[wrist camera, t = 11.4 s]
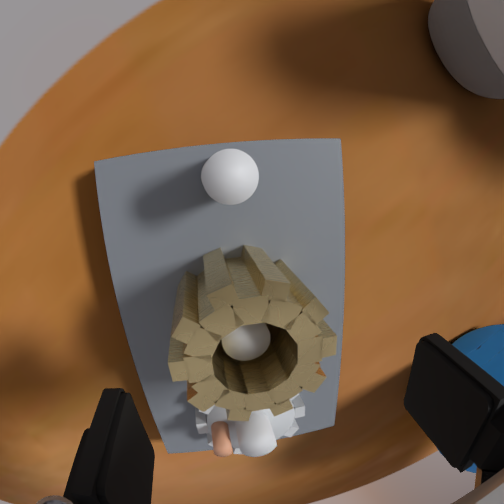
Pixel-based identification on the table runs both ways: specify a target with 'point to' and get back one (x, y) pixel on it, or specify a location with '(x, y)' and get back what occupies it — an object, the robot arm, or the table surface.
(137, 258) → the gear board
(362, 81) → the table surface
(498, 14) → the smart speaker
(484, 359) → the alarm clock
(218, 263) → the brass gear
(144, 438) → the robot arm
